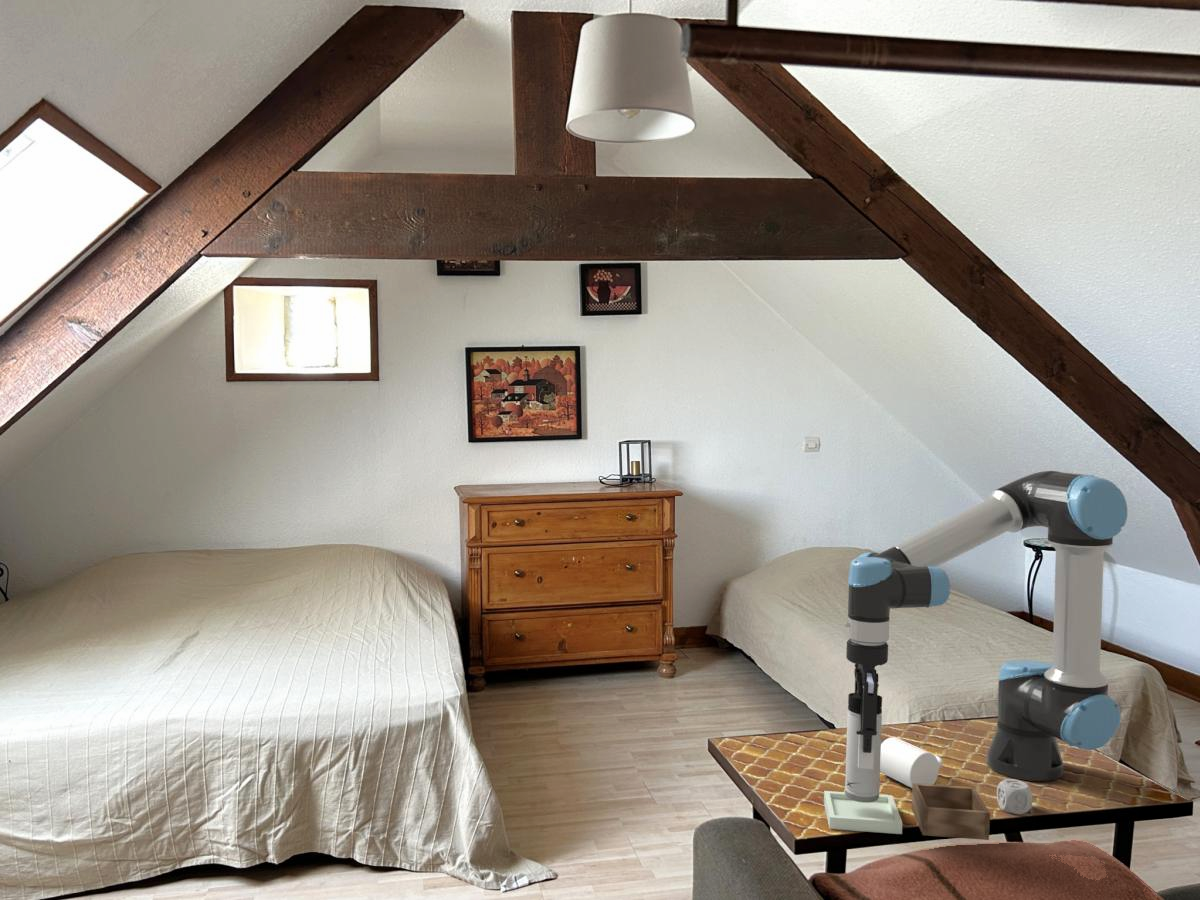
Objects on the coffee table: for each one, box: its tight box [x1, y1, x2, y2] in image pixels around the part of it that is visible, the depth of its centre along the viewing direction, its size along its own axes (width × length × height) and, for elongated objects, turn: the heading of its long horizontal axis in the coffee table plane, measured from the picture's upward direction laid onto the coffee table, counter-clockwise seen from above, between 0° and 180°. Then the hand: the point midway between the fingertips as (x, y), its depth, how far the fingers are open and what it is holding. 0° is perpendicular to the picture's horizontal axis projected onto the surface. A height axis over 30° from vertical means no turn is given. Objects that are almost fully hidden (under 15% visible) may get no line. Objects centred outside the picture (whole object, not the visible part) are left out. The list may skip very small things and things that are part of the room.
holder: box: [911, 783, 991, 841], centre depth 187 cm, size 12×12×5 cm
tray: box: [823, 790, 903, 835], centre depth 189 cm, size 13×12×2 cm
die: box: [996, 778, 1033, 815], centre depth 194 cm, size 5×5×5 cm
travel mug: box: [844, 692, 883, 803], centre depth 188 cm, size 6×7×20 cm
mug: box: [880, 736, 944, 789], centre depth 207 cm, size 12×10×8 cm
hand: (863, 760), depth 189 cm, fingers closed on travel mug, 6 cm apart
